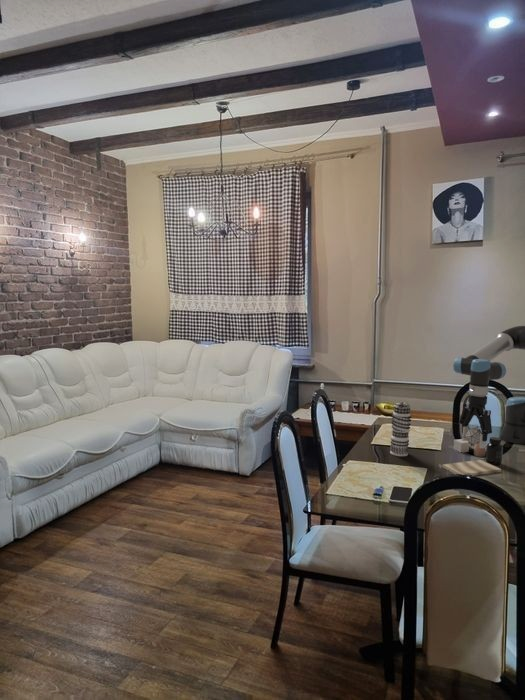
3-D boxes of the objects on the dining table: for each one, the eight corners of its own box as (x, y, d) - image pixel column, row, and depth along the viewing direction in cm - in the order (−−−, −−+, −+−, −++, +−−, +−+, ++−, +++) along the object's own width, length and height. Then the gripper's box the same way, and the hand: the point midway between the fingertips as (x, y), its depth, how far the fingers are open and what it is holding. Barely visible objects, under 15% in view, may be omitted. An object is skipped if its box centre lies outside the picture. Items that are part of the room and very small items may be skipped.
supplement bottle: (500, 462, 230) (502, 437, 228) (502, 467, 224) (504, 441, 222) (484, 460, 232) (486, 435, 231) (485, 464, 226) (488, 439, 224)
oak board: (480, 462, 229) (480, 459, 229) (500, 471, 218) (501, 469, 218) (442, 467, 221) (442, 464, 221) (461, 477, 210) (461, 474, 210)
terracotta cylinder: (479, 452, 242) (480, 439, 241) (487, 456, 237) (488, 442, 236) (471, 453, 240) (472, 440, 239) (479, 457, 236) (480, 443, 235)
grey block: (461, 448, 248) (462, 439, 247) (468, 451, 244) (469, 442, 243) (453, 449, 246) (454, 439, 246) (460, 452, 242) (461, 443, 241)
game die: (477, 454, 217) (489, 440, 210) (458, 445, 218) (470, 432, 211) (478, 439, 223) (490, 426, 217) (460, 431, 225) (471, 418, 218)
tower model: (394, 457, 233) (398, 405, 229) (385, 450, 242) (389, 400, 238) (412, 456, 235) (416, 405, 231) (403, 449, 244) (406, 400, 240)
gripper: (453, 389, 224) (449, 437, 227) (491, 401, 203) (486, 453, 206) (466, 389, 227) (462, 436, 230) (504, 400, 206) (499, 451, 209)
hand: (473, 444), depth 218 cm, fingers closed on game die, 9 cm apart
